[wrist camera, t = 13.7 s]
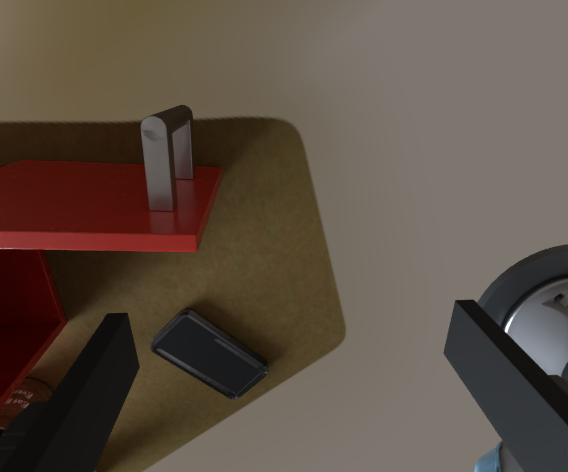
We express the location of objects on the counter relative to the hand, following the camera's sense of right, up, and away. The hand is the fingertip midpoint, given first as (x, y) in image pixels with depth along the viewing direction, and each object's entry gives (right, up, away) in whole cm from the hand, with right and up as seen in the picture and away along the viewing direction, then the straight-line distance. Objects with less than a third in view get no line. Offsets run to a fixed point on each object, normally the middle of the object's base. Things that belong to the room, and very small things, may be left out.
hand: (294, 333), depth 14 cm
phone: (-10, -12, +33) cm, 37 cm away
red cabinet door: (-17, +14, +21) cm, 30 cm away
